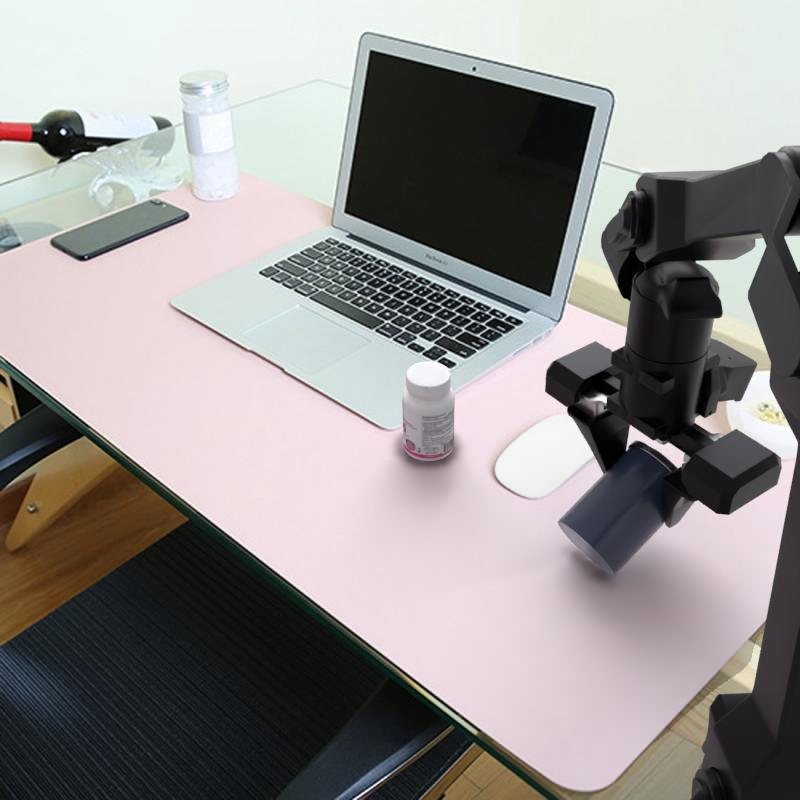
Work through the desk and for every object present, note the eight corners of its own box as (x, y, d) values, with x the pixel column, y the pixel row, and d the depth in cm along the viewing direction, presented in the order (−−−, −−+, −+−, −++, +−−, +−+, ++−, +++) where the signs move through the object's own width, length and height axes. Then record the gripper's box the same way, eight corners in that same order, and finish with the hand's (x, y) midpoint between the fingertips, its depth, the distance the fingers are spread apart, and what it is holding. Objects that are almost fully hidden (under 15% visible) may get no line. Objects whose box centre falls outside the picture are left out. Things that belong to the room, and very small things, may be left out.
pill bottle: (396, 436, 91) (394, 363, 86) (443, 426, 92) (444, 354, 87) (412, 467, 87) (411, 393, 82) (461, 457, 88) (463, 383, 83)
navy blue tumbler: (624, 588, 75) (701, 507, 76) (604, 555, 71) (687, 469, 72) (568, 542, 79) (642, 466, 80) (546, 508, 75) (625, 427, 76)
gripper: (854, 360, 64) (805, 525, 74) (649, 256, 77) (629, 408, 86) (744, 423, 60) (706, 591, 69) (545, 301, 72) (536, 457, 82)
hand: (642, 502), depth 77 cm, fingers closed on navy blue tumbler, 6 cm apart
